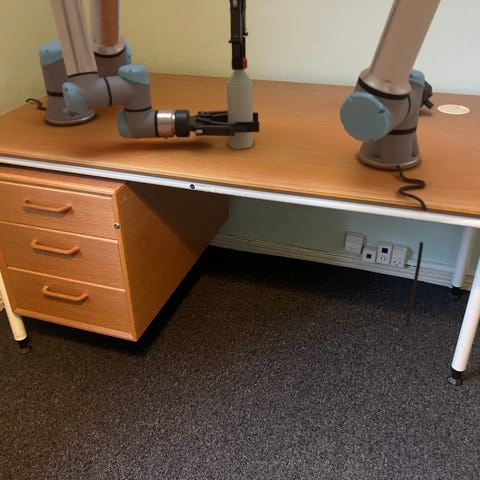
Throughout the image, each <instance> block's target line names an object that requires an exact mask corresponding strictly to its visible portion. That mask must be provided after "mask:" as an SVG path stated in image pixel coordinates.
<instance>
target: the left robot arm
mask: <svg viewBox="0 0 480 480" xmlns="http://www.w3.org/2000/svg"><path fill="white" fill-rule="evenodd" d="M49 2H50V7H51V10H52V15H53V19H54V24H55V27H56V32H57V36H58V40H54V41H50V42H48V43H46V44H44V45H42V46H41V47H40V48H39V50H38V57H39V66H40V68H41V73H42V77H43V81H44V86H45V91H46V107H45V106H42V101H40V100H38V99H36V98H31V97H30V98H27V99H26V100H25V103H28V102H31V101H33V102H36V103H38V104H37V108H38V109H39V110H45V120H46V123H48V124H49V125H53V126H57V127H67V126H68V127H69V126H77V125H82V124H85V123H88V122H91V121H92V120H94V118H95V117H96V110H99V109H100V110H101V109H106V108H113V107H118V106H123V107H122V108H123V110H119V111H118V112H117V115H116V127H117V132H118V135H119V136H120V137H121V138H123V139H135V140H139V139H156V138H157V139H163V138H164V140H168V139H169V138H175V137H176V138H179V139H181V138H190V136H191V132H193V133H195V134H194V135H195V137H203V136H205V137H206V136H209V137H229V136H235V133H240V132H253V133H260V121H259V112H257V111H256V112H255V111H253V122H235V124H233V123H228V109H227V110H208V111H204V110H199V111H197V114H195V115H190V111H189V109H176V110H175V111H174V109H153V107H152V98H151V97H152V96H151V86H150V85H151V83H150V77H149V74H148V73H149V72H148V69H147V67H145V66H144V65H142V64H140V65H138V64H139V63H132V52H131V51H132V50H131V46H130V44H129V42H128V41H127V40H126V39H125V37H124V36H123V35H122V34H121V8H122V7H121V5H122V3H121V2H122V0H89V3H88V5H89V26H90V27H88V22H87V21H88V20H87V17H86V12H85V7H84V3H83V0H49ZM89 28H90V30H89Z"/></svg>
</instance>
